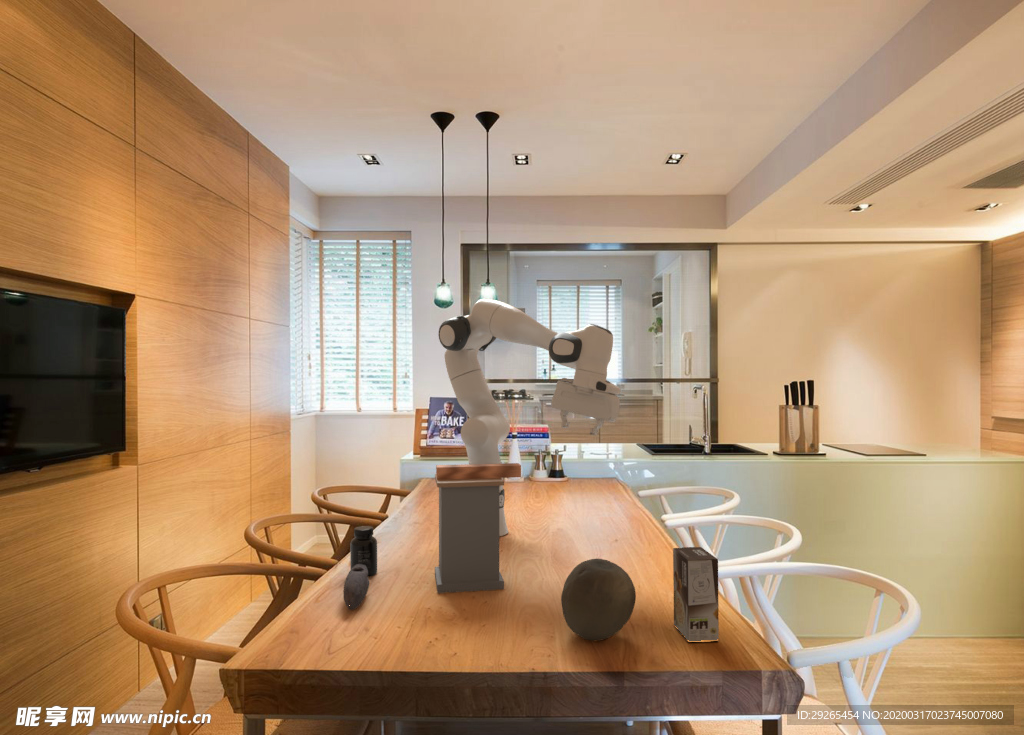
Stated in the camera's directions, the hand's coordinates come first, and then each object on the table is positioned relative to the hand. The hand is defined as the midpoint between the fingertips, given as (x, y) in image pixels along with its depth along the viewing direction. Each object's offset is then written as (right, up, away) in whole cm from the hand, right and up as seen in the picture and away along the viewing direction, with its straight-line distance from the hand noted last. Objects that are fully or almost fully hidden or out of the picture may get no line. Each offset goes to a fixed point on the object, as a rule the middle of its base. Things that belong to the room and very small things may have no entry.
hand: (578, 431), depth 174 cm
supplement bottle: (-57, -36, -12) cm, 69 cm away
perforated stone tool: (-54, -36, -32) cm, 73 cm away
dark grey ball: (-2, -36, -51) cm, 62 cm away
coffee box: (+18, -36, -49) cm, 63 cm away
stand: (-30, -36, -18) cm, 50 cm away
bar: (-27, -10, -17) cm, 33 cm away
